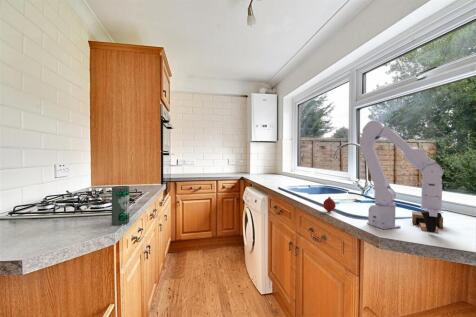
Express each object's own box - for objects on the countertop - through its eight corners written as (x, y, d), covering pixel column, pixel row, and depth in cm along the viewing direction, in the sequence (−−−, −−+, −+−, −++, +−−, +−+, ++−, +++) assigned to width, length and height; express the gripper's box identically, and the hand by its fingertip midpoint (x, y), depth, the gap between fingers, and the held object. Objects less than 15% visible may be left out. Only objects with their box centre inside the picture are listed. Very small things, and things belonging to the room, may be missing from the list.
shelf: (442, 228, 88) (443, 218, 88) (412, 224, 93) (412, 214, 93) (440, 225, 93) (440, 214, 92) (412, 220, 98) (412, 211, 98)
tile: (438, 234, 83) (438, 228, 83) (420, 231, 86) (421, 226, 86) (435, 229, 88) (436, 224, 88) (419, 227, 91) (419, 222, 91)
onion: (336, 214, 109) (336, 198, 108) (324, 213, 110) (324, 197, 110) (333, 211, 114) (334, 195, 114) (322, 210, 115) (322, 195, 115)
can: (124, 225, 87) (124, 188, 87) (108, 225, 87) (109, 188, 87) (131, 220, 93) (131, 185, 93) (116, 220, 93) (116, 185, 93)
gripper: (449, 199, 73) (448, 240, 73) (442, 194, 85) (442, 228, 85) (422, 197, 77) (421, 235, 78) (419, 192, 89) (418, 225, 89)
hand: (430, 231), depth 82 cm, fingers closed
